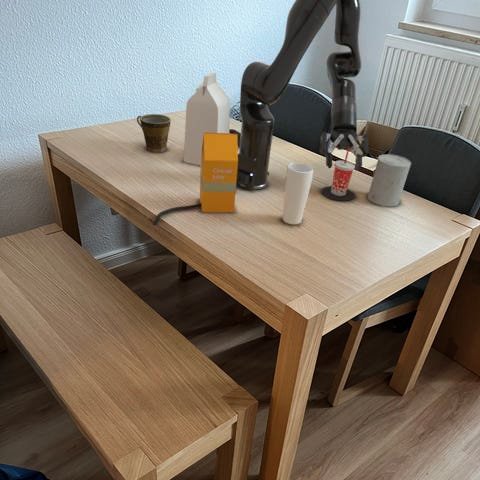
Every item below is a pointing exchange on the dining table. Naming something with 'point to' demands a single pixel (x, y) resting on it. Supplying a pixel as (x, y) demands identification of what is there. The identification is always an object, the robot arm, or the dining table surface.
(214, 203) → the orange juice
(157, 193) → the dining table surface
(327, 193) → the coaster
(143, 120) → the ceramic cup
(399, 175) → the grey wide plain cylinder
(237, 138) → the hairbrush
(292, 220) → the drinking glass
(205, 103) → the milk
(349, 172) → the beverage cup
